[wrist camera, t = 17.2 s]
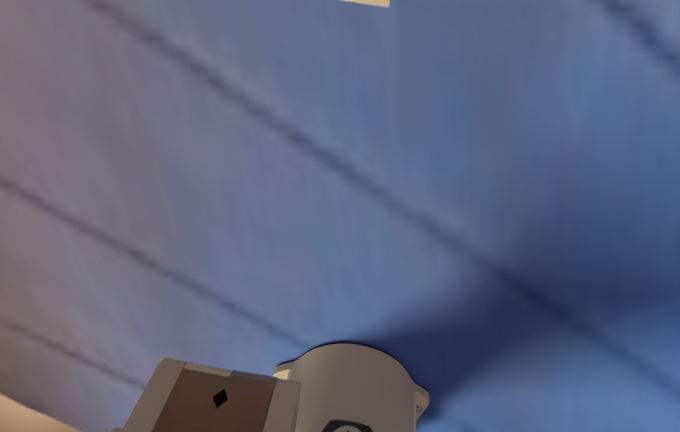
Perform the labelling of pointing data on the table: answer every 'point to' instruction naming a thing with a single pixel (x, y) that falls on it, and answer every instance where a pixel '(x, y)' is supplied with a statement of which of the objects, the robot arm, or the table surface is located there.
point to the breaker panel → (372, 2)
